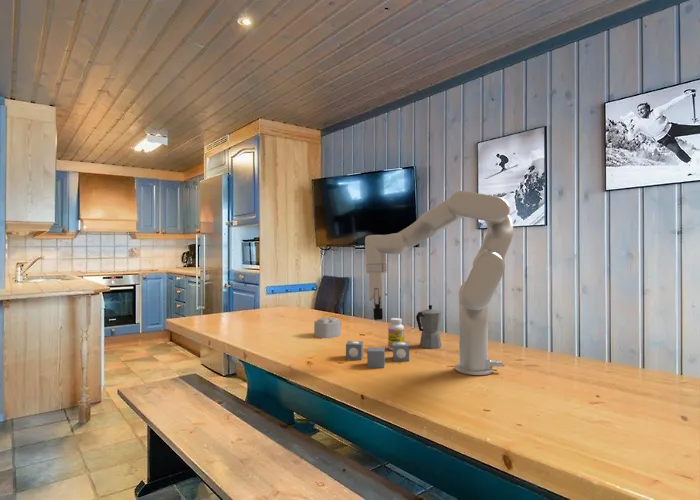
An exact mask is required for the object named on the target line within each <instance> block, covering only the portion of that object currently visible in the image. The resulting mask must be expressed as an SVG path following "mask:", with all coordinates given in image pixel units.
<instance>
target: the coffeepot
mask: <svg viewBox="0 0 700 500" xmlns="http://www.w3.org/2000/svg"><path fill="white" fill-rule="evenodd" d="M441 317H442V311H440V310H437V309H436V310H435V309H433V305H432V304H429V305H428V309H424V310H423V309H422V310H420V311H419V312H417V314H416V316H415V319H416V322H417V323H416V324H417V327H418V331H419V332H421V335H420V341H419V347H421V348H423V349H429V350H430V349H431V350H435V349H440V348H441V347H442V342H441V336H440V332H439V328H440V325H441Z"/></svg>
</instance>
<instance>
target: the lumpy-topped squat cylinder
mask: <svg viewBox="0 0 700 500" xmlns="http://www.w3.org/2000/svg"><path fill="white" fill-rule="evenodd" d="M341 323H342V322H341V319H338V318H337V317H332V316H331V317H328V318H327V317H326V316H325V317H321V318H318V319H317V320H315V321H314V323H313V324H314V327H313V328H314V329H313V330H314V331H313V333H314V334H313V336H315V337H314V338H318V337H319V339H322V338H328V339H334V337H335V338H338V337H340V335H342V333H341V331H342V328H341V326H342V324H341Z"/></svg>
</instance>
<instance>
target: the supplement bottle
mask: <svg viewBox="0 0 700 500" xmlns="http://www.w3.org/2000/svg"><path fill="white" fill-rule="evenodd" d="M402 323H403V319H402V318H401V317H400V318H399V317H391V318H390V324H389V325H388V328H387V329H388V330H387V331H388V334H387V336H388V337H387V338H388V341H387V342H388V343H387V344H388V346H387V347H388V350H390V351H393V342H405V326H404V325H403V324H402Z"/></svg>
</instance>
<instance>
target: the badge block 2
mask: <svg viewBox="0 0 700 500" xmlns="http://www.w3.org/2000/svg"><path fill="white" fill-rule="evenodd" d="M392 361H393V362H410V343H409V342H408V341H404V342H393V350H392Z"/></svg>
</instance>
